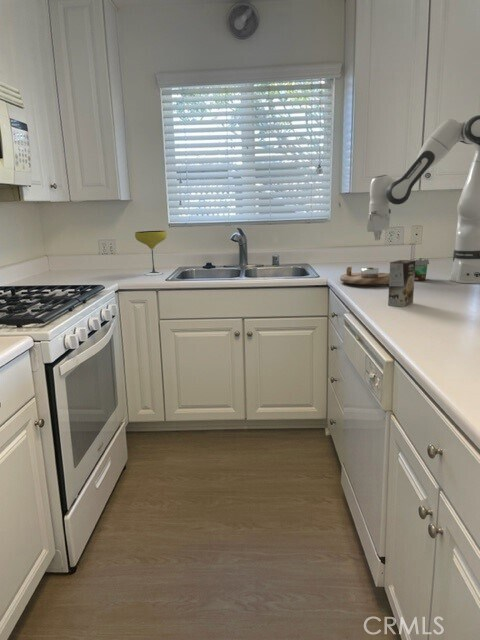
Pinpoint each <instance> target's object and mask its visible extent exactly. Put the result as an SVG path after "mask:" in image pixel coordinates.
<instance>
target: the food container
mask: <svg viewBox="0 0 480 640" xmlns="http://www.w3.org/2000/svg"><path fill="white" fill-rule="evenodd" d="M414 261H415V277H414V282H425V281H426V278H427V271H428V265H429V264H430V260H429V258H424V257H419V258H418V259H416V260H414Z"/></svg>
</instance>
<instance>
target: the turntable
mask: <svg viewBox="0 0 480 640" xmlns="http://www.w3.org/2000/svg"><path fill="white" fill-rule="evenodd" d="M352 269H353V268H352V266H346V271H345V272H346V273H345V274H342V275H340V277H339V281H341V282H343V283H347V284H351V285H352V284H354V285H359V284H365V285H364V286H379V285H378V284H383V285H389V275H390V272H389V273H388V272H379V273H378V278H362V277H361V272H352V271H353V270H352Z"/></svg>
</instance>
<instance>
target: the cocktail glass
mask: <svg viewBox="0 0 480 640" xmlns="http://www.w3.org/2000/svg"><path fill="white" fill-rule="evenodd" d="M134 237H135V239H136V241H138V242H140V243H142V244H144V245H146V246H147V247H148V248H149V249H150V250H151V260H152V271H151V272H149V273H159V271H156V270H155V264H154V263H155V261H154V252H153V251H154V249H155V247H156V246H157V245H159V244H160V243H162V242H163V241H165V239H167V231H166V230H146V231H136V232H134Z"/></svg>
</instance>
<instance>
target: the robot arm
mask: <svg viewBox="0 0 480 640" xmlns="http://www.w3.org/2000/svg"><path fill="white" fill-rule="evenodd" d="M458 143H463V144H466V145H474V155H473V158H472V161H471V164H470V167H469V170H468V174H467V178H466V180H465V183H464V185H463V188H462V191H461V195H460V197H459V199H458V203H457V206H456V211H457V223H456V232H455V243H454V250H453V254H452V255H453V256H452V261H453V264H452V269H451V273H450V276H449V278H448V280H449V281H452V282H456V283H460V284H480V115H478V114H477V115H475V116H472V117H470V118H468V119H467V120H465V121H464V122H459V121H458V120H456V119H453V118H449V119H448V118H447V119H446V120H444V121H443V122H442V123H441V124H439V125H438V127H436V129H435V130H434V131H432V133H431V134H430V135H429V136H428V137H427V139H426V141H425V142H424V143H423V144H422V146H421V148H420V150H419V153H418V154H417V157H416V159H415V161H414V162H413V164H412V165H411V166H409V168H408V170H407V171H406V172H405V173H404V174H403V175H402V177H400V178H399V179H398V180H396V179H394V178H392V177H390V176H389V175H387V174H383V175H379V176H375V177H373V178H372V180H371V182H370V186H369V199H370V200H369V205H368V207H369V208H368V216H367V223H366V231H367V232H369V233H370V232H371V233H372V232H373V235H374V241H381V238H382V237H381V235H382V233H383V231H385V230H388V229H389V227H390V220H391V219H390V217H391V214H392V209H391V208H390V205H389V203H391V204H393V205H397V206H398V205H401V204H402V205H403V204H404V203H406V202H407V200H408V199H409V198H410V195H411V192H412V189H413V187H414V186H415V185H416V183H417V182H418V181H419V180H420V179H421V177H422V176H423V175H424V174H425V173H426V172H427V171H428V170H429V169H430V168H431V167H433V166H435V165H437V164H438V163H439V162H441V161H442V159H444V158H445V157H446V156H447V155H448V154H449V153H450V151H451V150H452V149H453V148H454V146H455V145H456V144H458Z"/></svg>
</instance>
